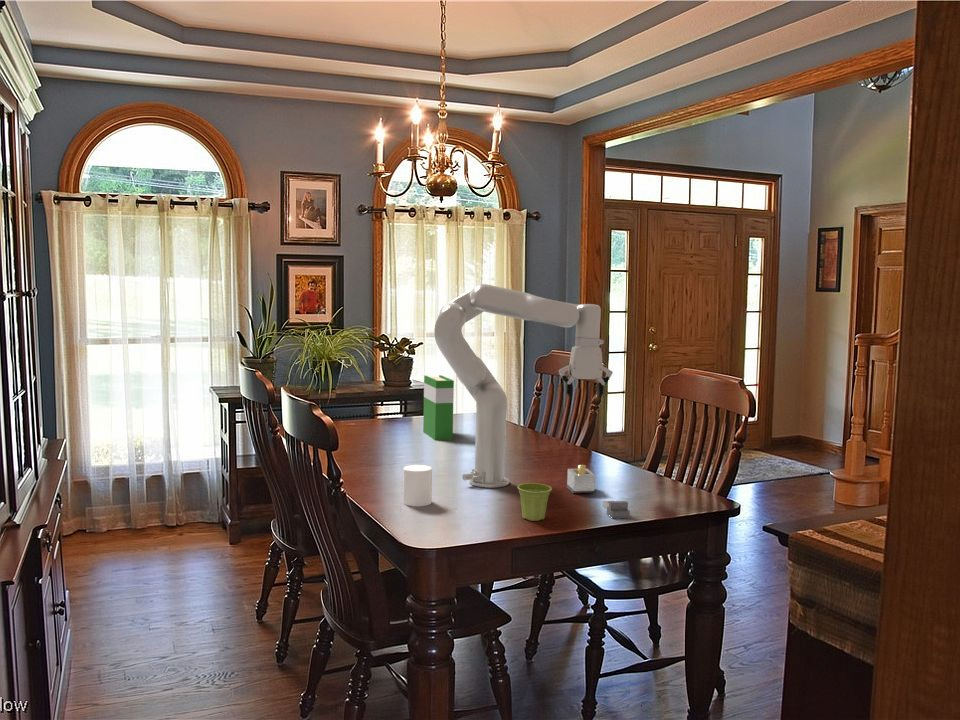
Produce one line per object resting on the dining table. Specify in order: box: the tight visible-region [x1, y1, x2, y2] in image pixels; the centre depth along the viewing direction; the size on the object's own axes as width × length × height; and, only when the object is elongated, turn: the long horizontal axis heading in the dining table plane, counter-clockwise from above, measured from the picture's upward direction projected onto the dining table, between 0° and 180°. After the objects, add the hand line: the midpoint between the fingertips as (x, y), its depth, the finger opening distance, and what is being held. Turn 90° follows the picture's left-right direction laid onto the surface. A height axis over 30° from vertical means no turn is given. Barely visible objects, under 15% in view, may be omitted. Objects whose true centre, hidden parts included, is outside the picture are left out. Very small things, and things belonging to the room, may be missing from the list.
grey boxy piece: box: [606, 500, 631, 519], centre depth 228 cm, size 5×5×4 cm
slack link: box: [602, 500, 610, 510], centre depth 236 cm, size 6×4×2 cm, turn 9°
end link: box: [566, 468, 596, 491], centre depth 254 cm, size 8×6×5 cm
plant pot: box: [517, 482, 553, 522], centre depth 224 cm, size 9×9×9 cm
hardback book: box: [422, 374, 455, 441], centre depth 336 cm, size 18×7×24 cm, turn 19°
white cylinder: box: [402, 464, 433, 508], centre depth 238 cm, size 8×10×12 cm
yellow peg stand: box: [566, 464, 596, 494], centre depth 254 cm, size 7×7×8 cm
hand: (584, 396), depth 260 cm, fingers open, 9 cm apart
